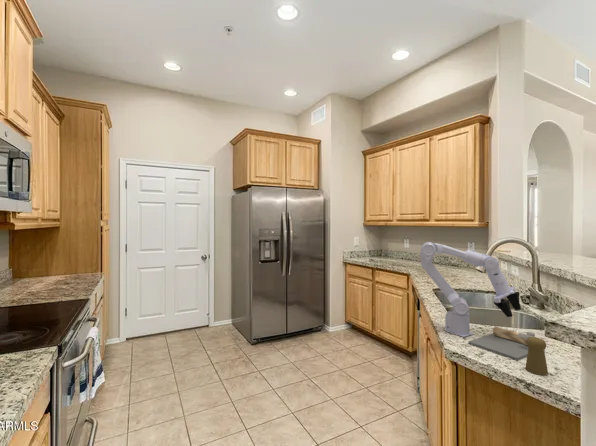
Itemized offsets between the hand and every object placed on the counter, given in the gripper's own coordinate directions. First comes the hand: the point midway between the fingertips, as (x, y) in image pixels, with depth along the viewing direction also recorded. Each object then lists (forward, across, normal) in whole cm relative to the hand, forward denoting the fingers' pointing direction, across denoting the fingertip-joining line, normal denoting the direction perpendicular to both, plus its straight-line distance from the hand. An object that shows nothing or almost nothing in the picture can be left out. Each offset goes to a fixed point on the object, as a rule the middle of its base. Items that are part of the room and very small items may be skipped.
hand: (513, 313), depth 128 cm
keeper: (+10, -11, -5) cm, 16 cm away
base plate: (+9, -13, +2) cm, 16 cm away
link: (+9, -6, +1) cm, 11 cm away
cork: (+11, -26, -14) cm, 32 cm away
